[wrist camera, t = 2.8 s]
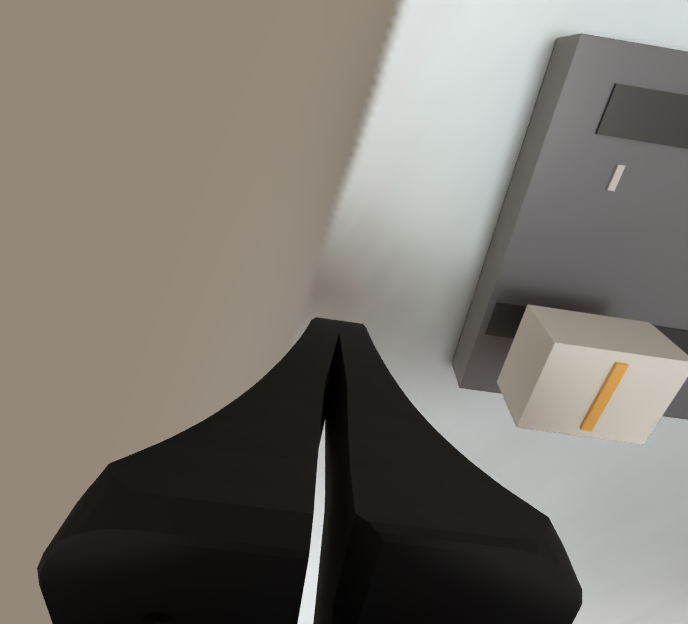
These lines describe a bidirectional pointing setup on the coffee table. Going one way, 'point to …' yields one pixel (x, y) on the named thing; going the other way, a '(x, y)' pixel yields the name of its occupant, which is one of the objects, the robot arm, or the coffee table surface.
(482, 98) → the coffee table surface
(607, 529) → the coffee table surface
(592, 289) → the mixer panel
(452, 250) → the coffee table surface
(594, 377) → the cream fader
